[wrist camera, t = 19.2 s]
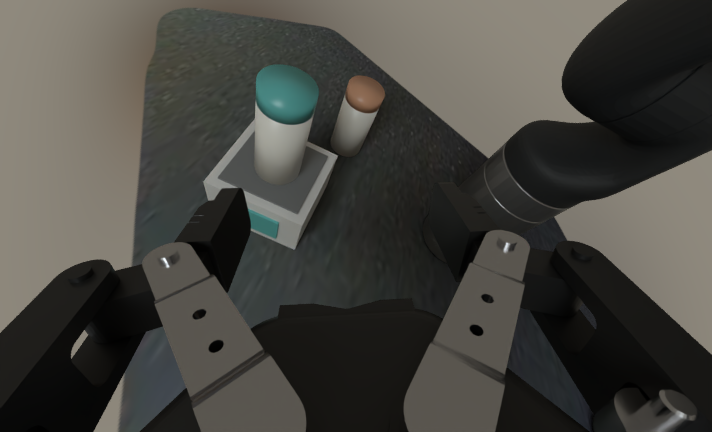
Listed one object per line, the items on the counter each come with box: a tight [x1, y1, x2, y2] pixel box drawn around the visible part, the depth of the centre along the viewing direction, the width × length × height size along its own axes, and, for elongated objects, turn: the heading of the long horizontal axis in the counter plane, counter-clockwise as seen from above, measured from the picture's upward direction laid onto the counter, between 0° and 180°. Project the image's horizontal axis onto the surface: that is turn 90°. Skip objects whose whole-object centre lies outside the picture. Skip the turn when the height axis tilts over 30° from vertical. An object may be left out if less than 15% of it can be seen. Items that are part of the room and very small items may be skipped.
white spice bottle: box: [330, 76, 385, 157], centre depth 43 cm, size 5×5×11 cm
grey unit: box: [203, 119, 338, 250], centre depth 36 cm, size 11×11×7 cm
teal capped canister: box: [254, 65, 319, 185], centre depth 28 cm, size 5×5×11 cm
